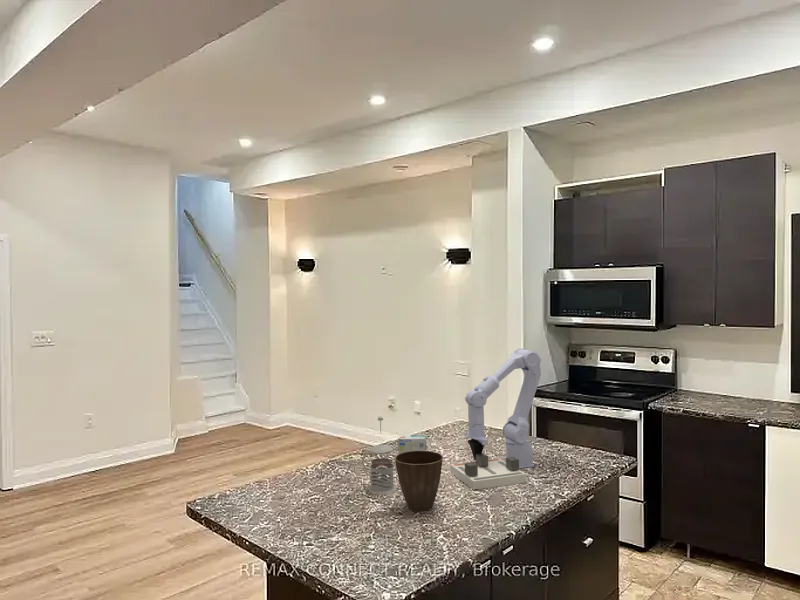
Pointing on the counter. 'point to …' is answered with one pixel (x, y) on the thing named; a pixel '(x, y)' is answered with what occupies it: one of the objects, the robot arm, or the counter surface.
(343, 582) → the counter surface
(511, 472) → the breaker panel
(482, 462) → the block
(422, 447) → the light bulb box
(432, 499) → the plant pot
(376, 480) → the french press
